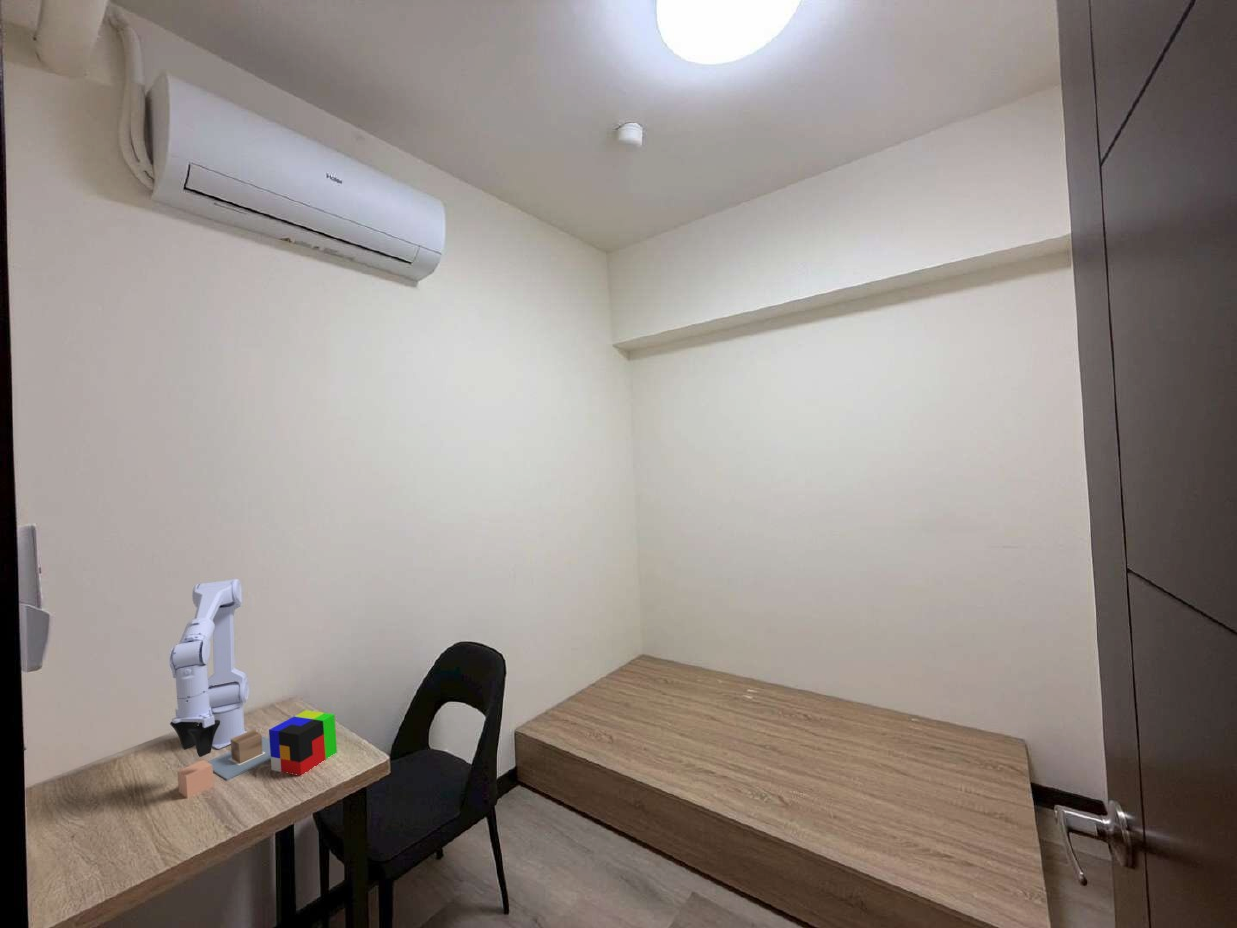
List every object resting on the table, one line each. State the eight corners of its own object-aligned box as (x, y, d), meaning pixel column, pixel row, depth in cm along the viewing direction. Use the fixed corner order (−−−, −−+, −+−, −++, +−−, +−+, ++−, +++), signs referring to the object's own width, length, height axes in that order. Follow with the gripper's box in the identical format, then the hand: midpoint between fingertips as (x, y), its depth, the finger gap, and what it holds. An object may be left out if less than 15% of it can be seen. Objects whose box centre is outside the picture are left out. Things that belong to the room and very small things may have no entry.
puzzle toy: (271, 770, 127) (268, 729, 127) (308, 747, 136) (305, 710, 136) (301, 776, 123) (298, 734, 123) (337, 752, 133) (334, 714, 133)
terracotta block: (178, 792, 120) (177, 770, 120) (204, 780, 124) (203, 759, 124) (187, 798, 117) (186, 776, 117) (213, 786, 122) (212, 764, 122)
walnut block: (231, 758, 132) (230, 738, 132) (253, 748, 136) (252, 729, 136) (240, 763, 130) (238, 743, 130) (262, 753, 134) (261, 734, 134)
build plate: (202, 765, 131) (202, 763, 131) (264, 738, 143) (264, 736, 143) (227, 780, 123) (227, 778, 123) (290, 750, 135) (289, 748, 135)
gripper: (158, 695, 121) (162, 753, 121) (186, 706, 114) (190, 767, 114) (194, 683, 127) (198, 738, 128) (223, 692, 120) (227, 750, 120)
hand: (197, 750), depth 121 cm, fingers open, 7 cm apart
